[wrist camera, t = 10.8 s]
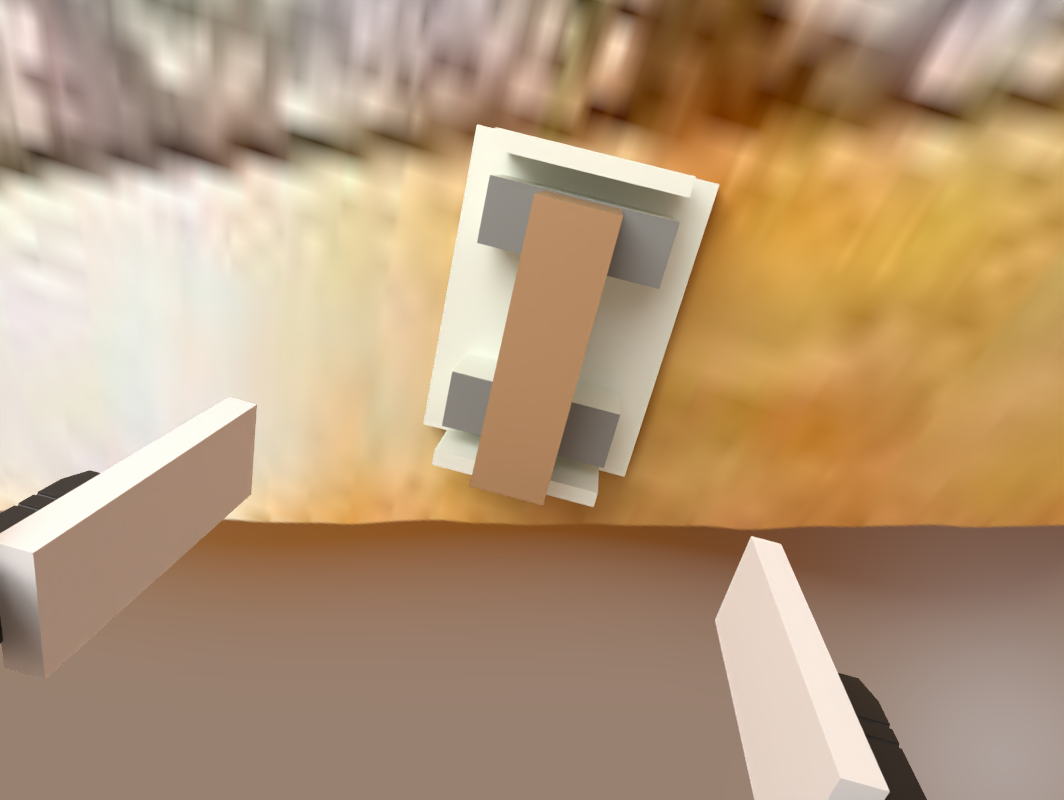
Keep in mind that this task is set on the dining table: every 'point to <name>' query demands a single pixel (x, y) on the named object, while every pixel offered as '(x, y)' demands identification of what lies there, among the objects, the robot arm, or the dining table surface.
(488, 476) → the tan wooden plank
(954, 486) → the dining table surface
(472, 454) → the stand
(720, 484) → the dining table surface
